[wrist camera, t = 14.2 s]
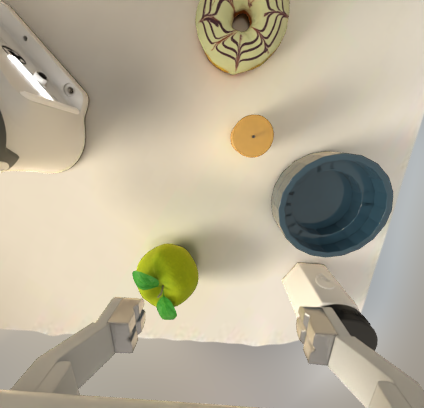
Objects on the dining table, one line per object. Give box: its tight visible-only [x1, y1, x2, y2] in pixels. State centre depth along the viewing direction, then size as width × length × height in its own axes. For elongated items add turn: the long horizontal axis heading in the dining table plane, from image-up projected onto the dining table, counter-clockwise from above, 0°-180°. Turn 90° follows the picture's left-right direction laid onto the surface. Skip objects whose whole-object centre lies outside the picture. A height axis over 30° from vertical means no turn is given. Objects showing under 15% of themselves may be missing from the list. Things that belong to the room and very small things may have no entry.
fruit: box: [133, 244, 198, 320], centre depth 32 cm, size 9×9×10 cm
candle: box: [231, 115, 274, 157], centre depth 26 cm, size 5×5×8 cm
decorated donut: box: [195, 0, 290, 75], centre depth 24 cm, size 10×11×4 cm
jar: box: [282, 263, 377, 351], centre depth 31 cm, size 9×8×12 cm
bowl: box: [271, 151, 393, 257], centre depth 29 cm, size 15×15×5 cm
